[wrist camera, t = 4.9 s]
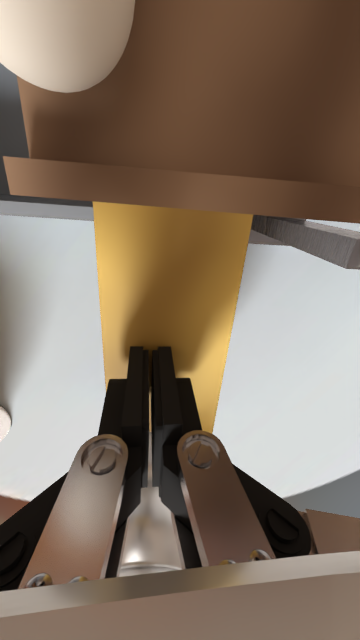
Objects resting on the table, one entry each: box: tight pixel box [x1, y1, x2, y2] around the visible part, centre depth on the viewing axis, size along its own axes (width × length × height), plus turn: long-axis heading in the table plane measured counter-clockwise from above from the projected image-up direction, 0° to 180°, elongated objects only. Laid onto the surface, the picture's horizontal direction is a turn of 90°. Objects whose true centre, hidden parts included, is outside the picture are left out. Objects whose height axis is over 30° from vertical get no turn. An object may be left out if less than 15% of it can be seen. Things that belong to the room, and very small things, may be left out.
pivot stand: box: [248, 215, 360, 269], centre depth 11 cm, size 6×14×11 cm, turn 175°
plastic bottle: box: [119, 432, 182, 577], centre depth 17 cm, size 6×7×20 cm
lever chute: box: [3, 0, 360, 434], centre depth 11 cm, size 21×19×6 cm
